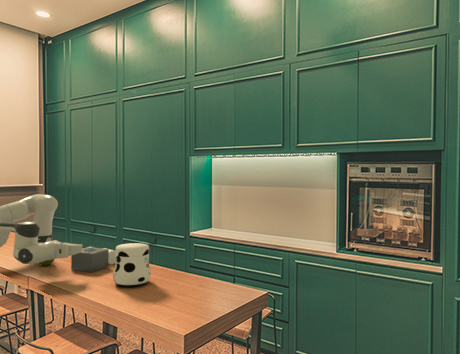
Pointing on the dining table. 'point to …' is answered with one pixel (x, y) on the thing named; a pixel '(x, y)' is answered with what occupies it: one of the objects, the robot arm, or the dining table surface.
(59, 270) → the dining table surface
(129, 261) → the milk container
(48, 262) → the apple
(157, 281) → the dining table surface
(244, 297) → the dining table surface
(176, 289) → the dining table surface
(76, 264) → the grey square box
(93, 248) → the grey rounded cylinder
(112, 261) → the mug
